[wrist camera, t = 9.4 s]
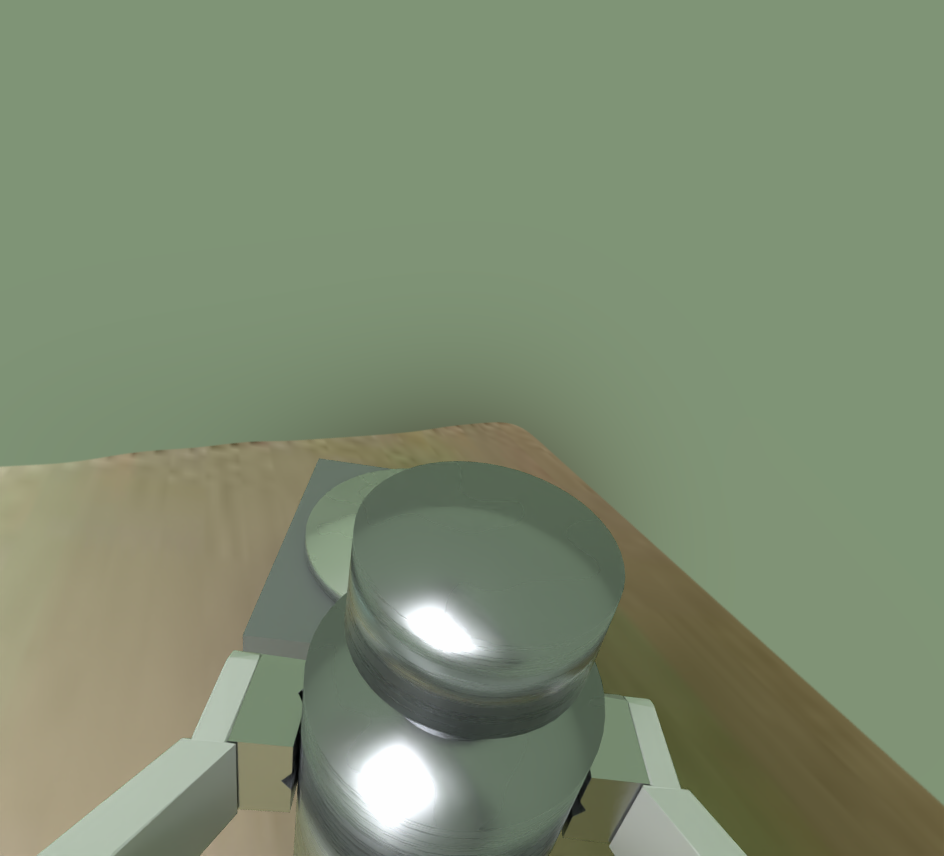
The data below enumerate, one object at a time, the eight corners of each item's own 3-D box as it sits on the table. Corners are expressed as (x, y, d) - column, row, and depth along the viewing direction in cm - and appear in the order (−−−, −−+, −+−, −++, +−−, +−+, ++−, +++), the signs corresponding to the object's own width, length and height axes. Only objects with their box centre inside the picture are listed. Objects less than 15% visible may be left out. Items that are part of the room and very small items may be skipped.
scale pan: (274, 616, 24) (274, 603, 24) (331, 467, 35) (332, 456, 35) (544, 648, 26) (548, 636, 25) (521, 494, 36) (524, 484, 36)
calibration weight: (259, 1034, 10) (260, 661, 5) (318, 767, 14) (348, 426, 9) (519, 1047, 10) (722, 712, 6) (502, 784, 14) (616, 466, 10)
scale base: (244, 724, 26) (242, 635, 24) (316, 527, 39) (320, 454, 36) (537, 753, 28) (568, 672, 25) (514, 553, 41) (533, 484, 38)
